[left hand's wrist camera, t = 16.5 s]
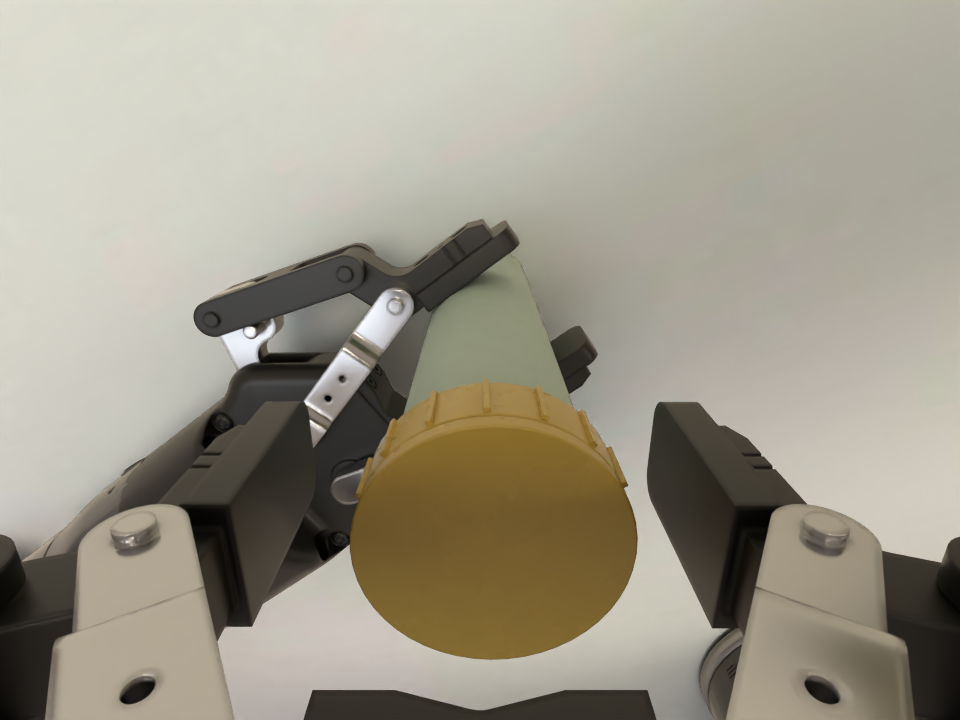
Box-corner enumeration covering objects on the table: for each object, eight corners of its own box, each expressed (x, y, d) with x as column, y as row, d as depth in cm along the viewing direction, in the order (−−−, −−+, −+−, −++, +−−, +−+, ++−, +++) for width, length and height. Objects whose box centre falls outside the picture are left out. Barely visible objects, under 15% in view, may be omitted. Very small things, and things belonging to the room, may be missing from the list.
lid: (466, 627, 12) (465, 701, 10) (313, 471, 11) (284, 528, 9) (663, 515, 11) (694, 577, 9) (521, 326, 10) (530, 362, 8)
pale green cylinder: (426, 308, 26) (341, 570, 10) (463, 229, 25) (436, 386, 9) (503, 344, 27) (539, 646, 11) (543, 269, 26) (654, 483, 9)
